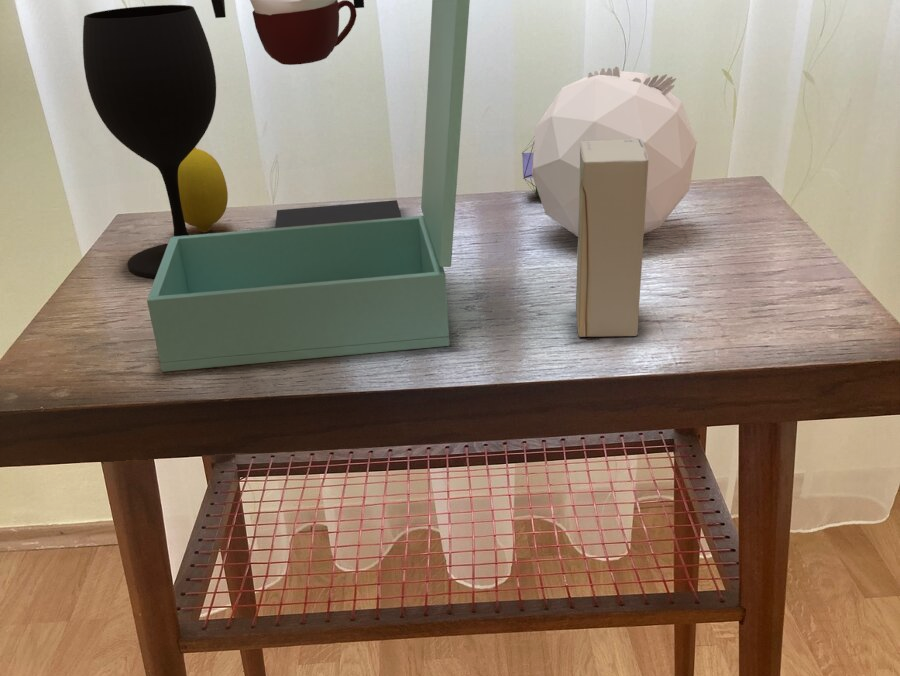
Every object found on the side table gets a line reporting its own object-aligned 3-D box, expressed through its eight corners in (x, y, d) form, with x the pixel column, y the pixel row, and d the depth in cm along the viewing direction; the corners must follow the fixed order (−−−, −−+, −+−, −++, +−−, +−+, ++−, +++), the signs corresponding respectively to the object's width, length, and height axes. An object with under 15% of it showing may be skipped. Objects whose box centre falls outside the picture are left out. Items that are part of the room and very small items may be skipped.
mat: (274, 253, 100) (273, 244, 100) (278, 218, 110) (276, 209, 110) (406, 241, 101) (405, 233, 100) (397, 208, 111) (397, 199, 110)
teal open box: (162, 372, 78) (146, 299, 75) (183, 300, 90) (170, 236, 87) (449, 346, 79) (445, 273, 76) (430, 279, 91) (426, 215, 89)
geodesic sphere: (744, 148, 98) (652, 7, 94) (737, 189, 87) (632, 31, 83) (607, 248, 106) (517, 122, 102) (585, 298, 95) (482, 158, 90)
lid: (463, -99, 64) (537, -93, 64) (437, -105, 77) (500, -100, 77) (439, 267, 75) (502, 269, 76) (420, 209, 88) (475, 211, 89)
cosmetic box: (575, 309, 84) (577, 139, 77) (634, 307, 83) (641, 136, 76) (578, 339, 78) (580, 160, 72) (641, 337, 78) (649, 157, 71)
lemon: (194, 223, 110) (178, 138, 106) (243, 225, 108) (230, 139, 104) (165, 239, 106) (148, 151, 101) (216, 241, 104) (201, 152, 100)
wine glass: (107, 263, 100) (50, 16, 89) (205, 237, 106) (164, 1, 94) (163, 287, 93) (110, 23, 82) (266, 257, 99) (229, 6, 88)
